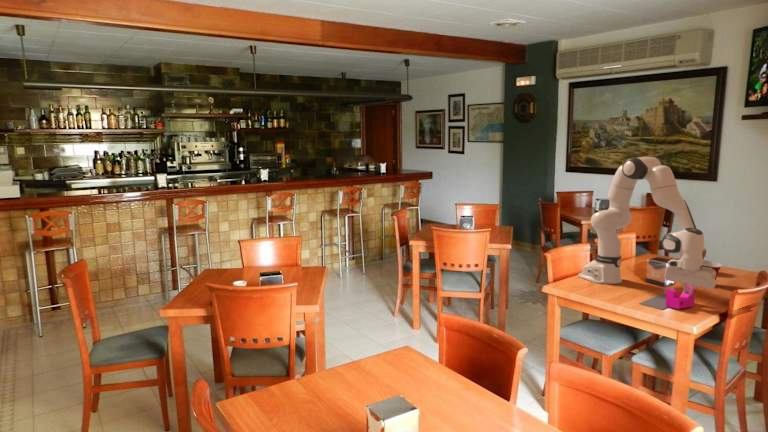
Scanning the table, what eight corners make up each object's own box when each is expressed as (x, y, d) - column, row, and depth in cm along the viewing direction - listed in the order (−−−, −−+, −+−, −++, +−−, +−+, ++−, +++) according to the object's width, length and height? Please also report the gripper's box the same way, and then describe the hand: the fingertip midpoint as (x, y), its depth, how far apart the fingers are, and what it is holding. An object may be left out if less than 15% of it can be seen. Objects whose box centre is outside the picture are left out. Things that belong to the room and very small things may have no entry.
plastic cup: (715, 289, 255) (718, 266, 253) (692, 284, 263) (694, 262, 261) (723, 285, 261) (725, 262, 259) (700, 280, 270) (702, 258, 268)
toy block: (678, 308, 225) (679, 292, 225) (665, 305, 231) (665, 289, 230) (699, 304, 232) (700, 288, 231) (686, 301, 237) (686, 286, 237)
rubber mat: (639, 303, 235) (639, 303, 235) (663, 293, 249) (663, 292, 249) (662, 310, 227) (662, 309, 227) (685, 298, 241) (685, 298, 241)
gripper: (719, 267, 220) (716, 297, 223) (670, 258, 236) (668, 287, 239) (713, 270, 217) (710, 301, 219) (664, 261, 233) (661, 289, 235)
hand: (687, 293), depth 229 cm, fingers closed
